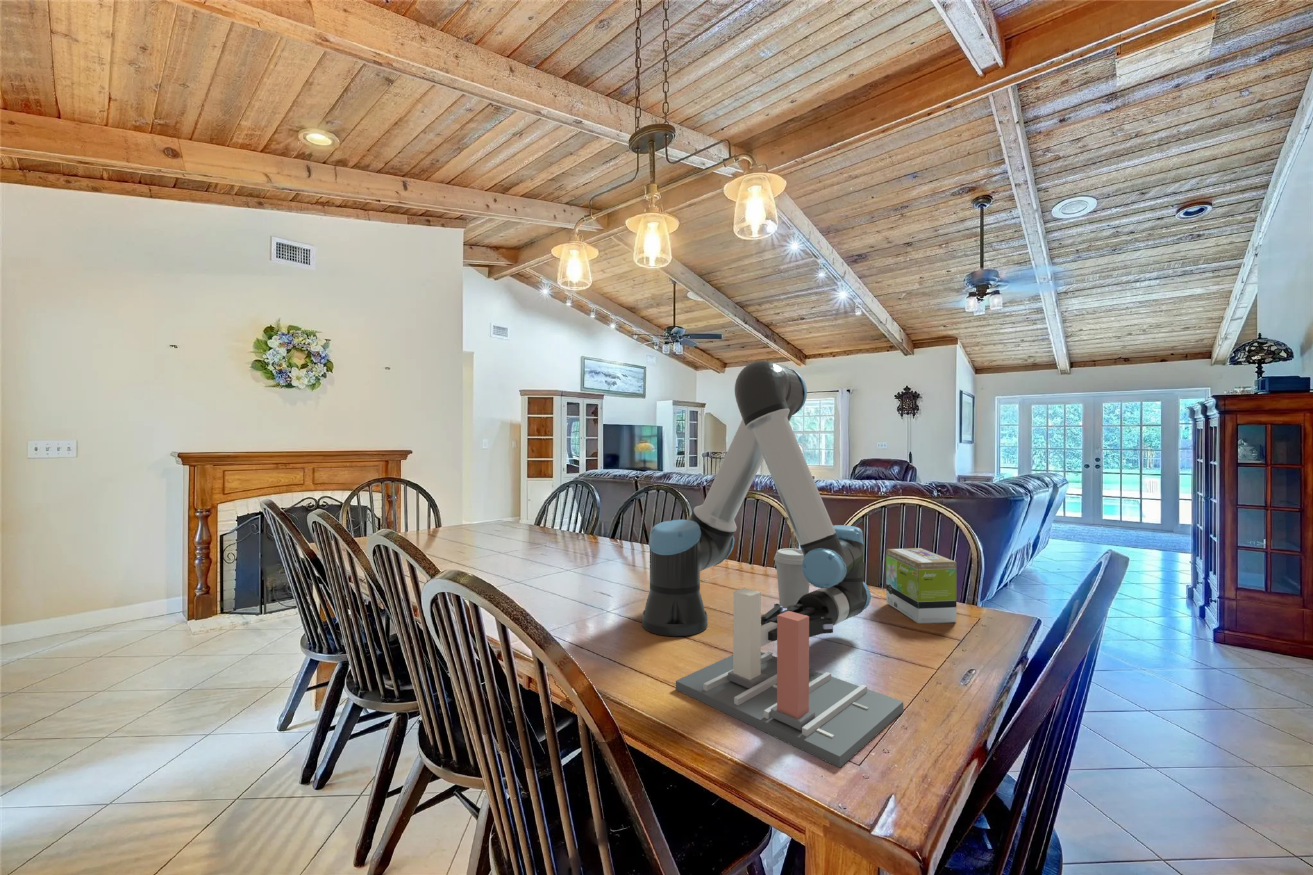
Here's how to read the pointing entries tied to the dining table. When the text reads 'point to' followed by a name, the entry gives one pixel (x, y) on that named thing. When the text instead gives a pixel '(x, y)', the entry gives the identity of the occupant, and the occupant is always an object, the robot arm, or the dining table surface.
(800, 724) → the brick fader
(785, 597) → the coffee cup
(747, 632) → the cream fader
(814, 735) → the console
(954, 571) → the tea box
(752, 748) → the dining table surface
